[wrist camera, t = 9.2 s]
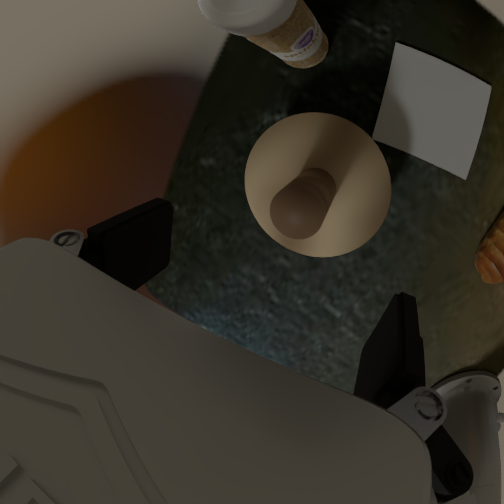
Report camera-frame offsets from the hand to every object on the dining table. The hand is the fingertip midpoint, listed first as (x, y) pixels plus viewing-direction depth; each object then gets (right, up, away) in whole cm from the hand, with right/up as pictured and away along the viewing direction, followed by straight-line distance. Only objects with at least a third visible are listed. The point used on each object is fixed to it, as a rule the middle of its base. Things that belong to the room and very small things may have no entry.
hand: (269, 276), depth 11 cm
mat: (+14, +12, +7) cm, 20 cm away
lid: (+4, +6, +10) cm, 13 cm away
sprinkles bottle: (+4, +18, +9) cm, 21 cm away
